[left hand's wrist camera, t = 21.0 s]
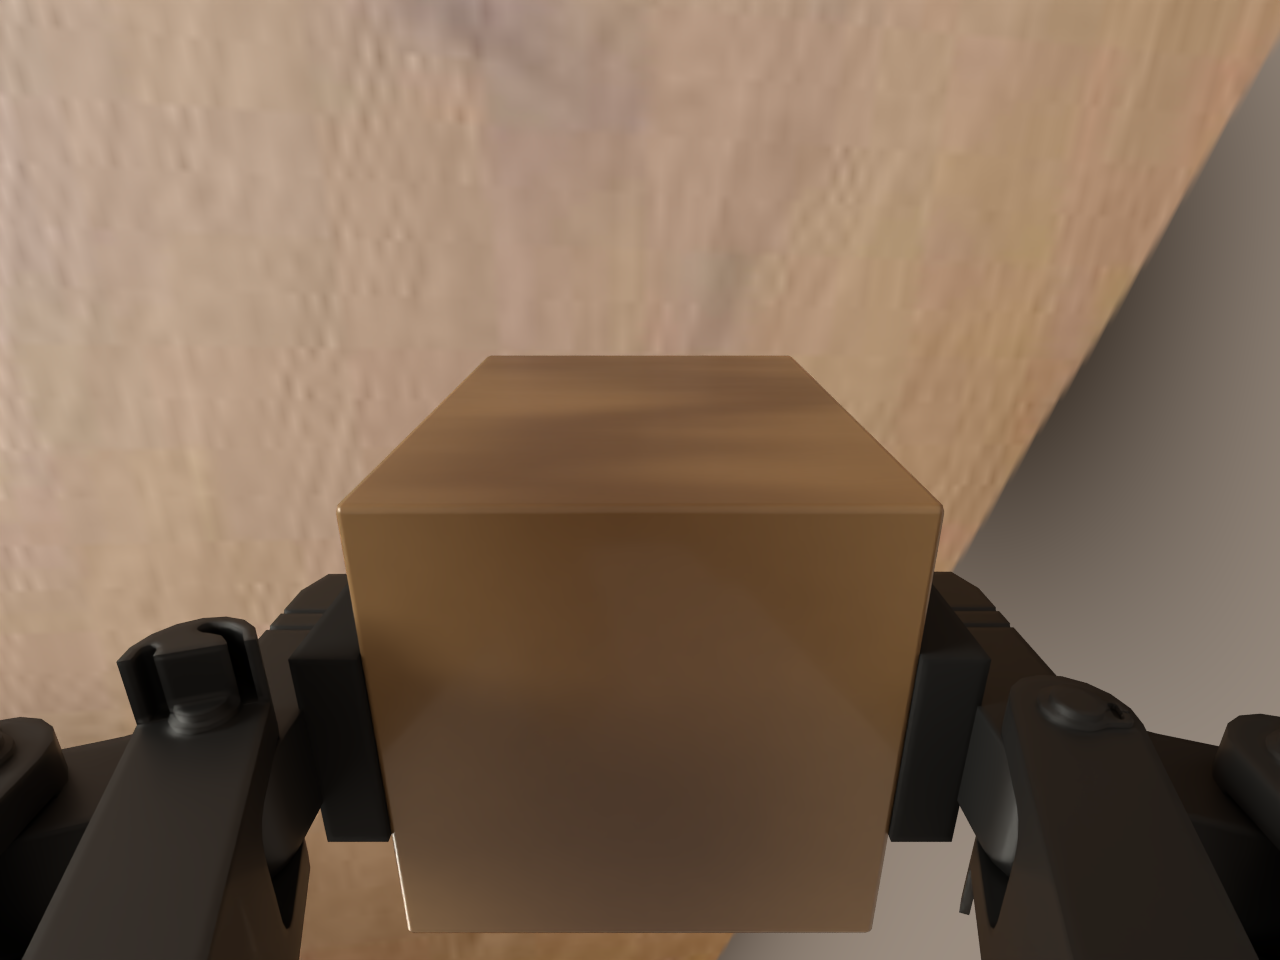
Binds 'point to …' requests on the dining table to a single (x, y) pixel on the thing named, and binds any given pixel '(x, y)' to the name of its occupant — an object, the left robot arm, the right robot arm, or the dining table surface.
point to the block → (639, 647)
